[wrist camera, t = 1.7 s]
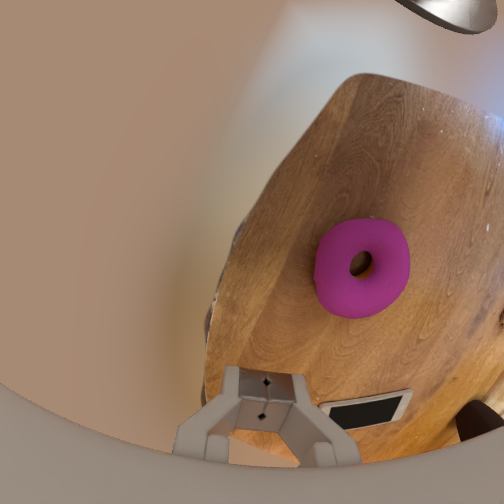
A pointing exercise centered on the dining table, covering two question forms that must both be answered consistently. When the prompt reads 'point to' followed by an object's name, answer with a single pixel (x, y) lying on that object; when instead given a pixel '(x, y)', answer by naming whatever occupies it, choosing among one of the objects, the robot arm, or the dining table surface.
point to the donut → (371, 280)
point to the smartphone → (368, 410)
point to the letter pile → (502, 320)
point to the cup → (477, 420)
